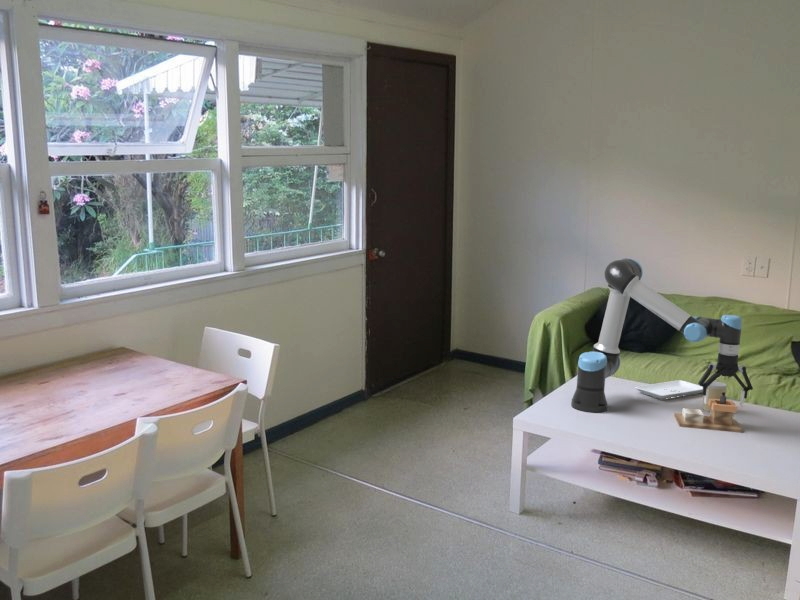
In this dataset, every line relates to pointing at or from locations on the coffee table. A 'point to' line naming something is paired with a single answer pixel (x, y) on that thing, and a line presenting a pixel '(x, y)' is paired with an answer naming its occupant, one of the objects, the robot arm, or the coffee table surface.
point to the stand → (708, 419)
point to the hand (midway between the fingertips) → (723, 404)
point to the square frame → (722, 405)
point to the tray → (678, 385)
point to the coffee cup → (714, 393)
